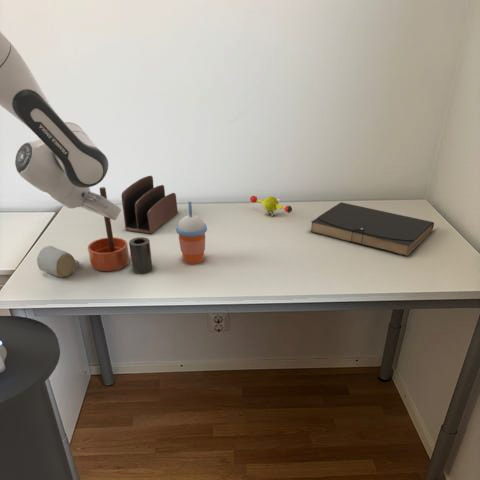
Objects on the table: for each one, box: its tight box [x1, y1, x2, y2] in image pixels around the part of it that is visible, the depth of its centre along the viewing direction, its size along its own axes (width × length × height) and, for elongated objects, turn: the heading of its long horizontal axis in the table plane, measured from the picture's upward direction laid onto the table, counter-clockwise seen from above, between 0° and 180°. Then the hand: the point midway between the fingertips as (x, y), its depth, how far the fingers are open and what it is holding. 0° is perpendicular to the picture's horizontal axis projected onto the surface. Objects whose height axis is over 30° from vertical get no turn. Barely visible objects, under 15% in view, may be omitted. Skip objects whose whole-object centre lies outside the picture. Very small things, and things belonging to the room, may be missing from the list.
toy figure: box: [249, 195, 293, 217], centre depth 181 cm, size 18×6×7 cm, turn 49°
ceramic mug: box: [36, 245, 80, 278], centre depth 147 cm, size 11×8×8 cm
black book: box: [310, 201, 435, 257], centre depth 169 cm, size 33×4×24 cm
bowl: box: [87, 236, 130, 272], centre depth 151 cm, size 11×11×6 cm
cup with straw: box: [175, 201, 208, 265], centre depth 150 cm, size 9×9×18 cm
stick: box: [98, 186, 115, 252], centre depth 145 cm, size 2×2×22 cm
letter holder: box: [121, 175, 179, 235], centre depth 176 cm, size 10×20×14 cm, turn 159°
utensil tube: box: [128, 236, 154, 275], centre depth 147 cm, size 6×6×9 cm
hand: (108, 214), depth 144 cm, fingers closed on stick, 1 cm apart
